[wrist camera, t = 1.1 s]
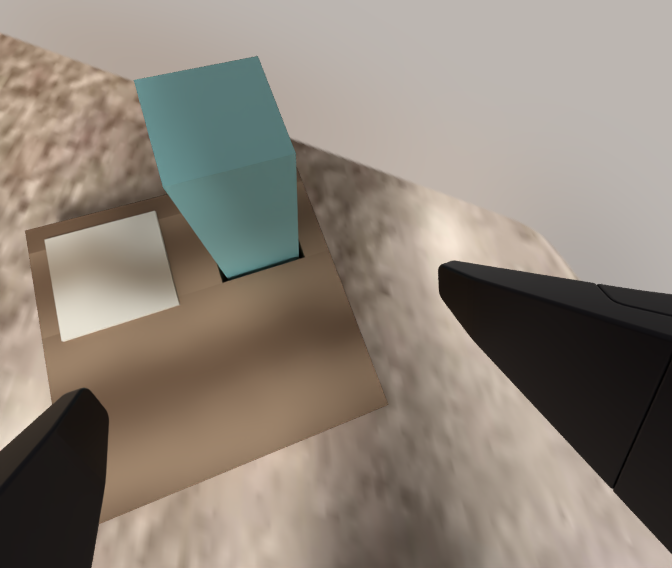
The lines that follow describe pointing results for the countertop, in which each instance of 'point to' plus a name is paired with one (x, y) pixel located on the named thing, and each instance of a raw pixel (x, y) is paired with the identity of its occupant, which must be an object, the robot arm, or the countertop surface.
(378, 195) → the countertop surface
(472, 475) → the countertop surface
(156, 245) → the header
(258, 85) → the plug
